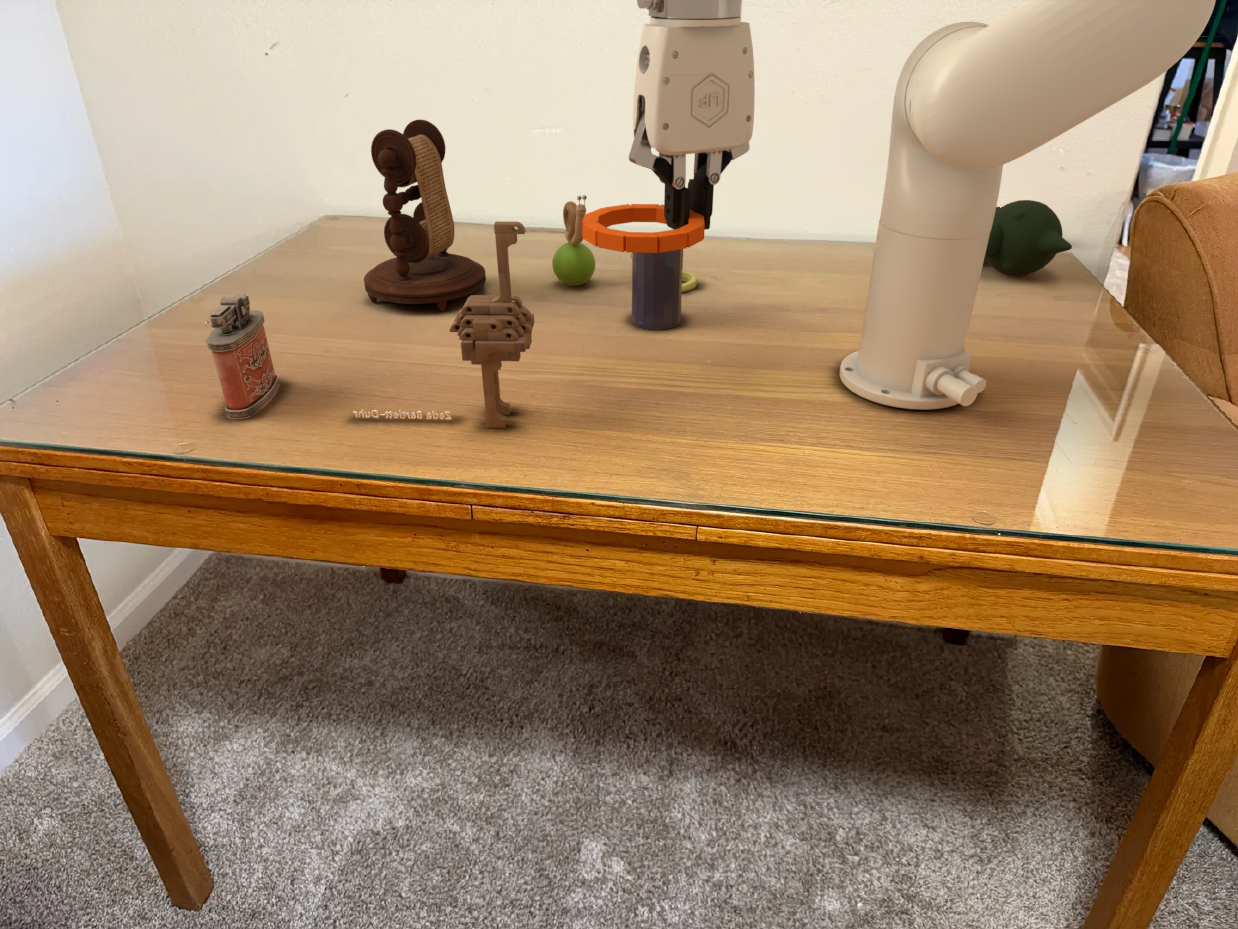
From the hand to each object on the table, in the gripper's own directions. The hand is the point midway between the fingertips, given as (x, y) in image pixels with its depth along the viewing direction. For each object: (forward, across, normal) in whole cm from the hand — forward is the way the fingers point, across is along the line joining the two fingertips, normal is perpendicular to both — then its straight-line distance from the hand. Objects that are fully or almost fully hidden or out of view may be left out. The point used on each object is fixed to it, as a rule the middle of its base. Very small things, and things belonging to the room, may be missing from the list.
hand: (687, 226), depth 79 cm
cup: (+15, +4, +13) cm, 20 cm away
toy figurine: (+11, +50, +13) cm, 53 cm away
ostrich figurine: (+15, -25, 0) cm, 29 cm away
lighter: (+15, -40, +12) cm, 45 cm away
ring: (0, -5, 0) cm, 5 cm away
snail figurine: (+15, 0, +28) cm, 32 cm away
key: (+15, +11, +25) cm, 31 cm away
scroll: (+15, -17, +34) cm, 41 cm away
